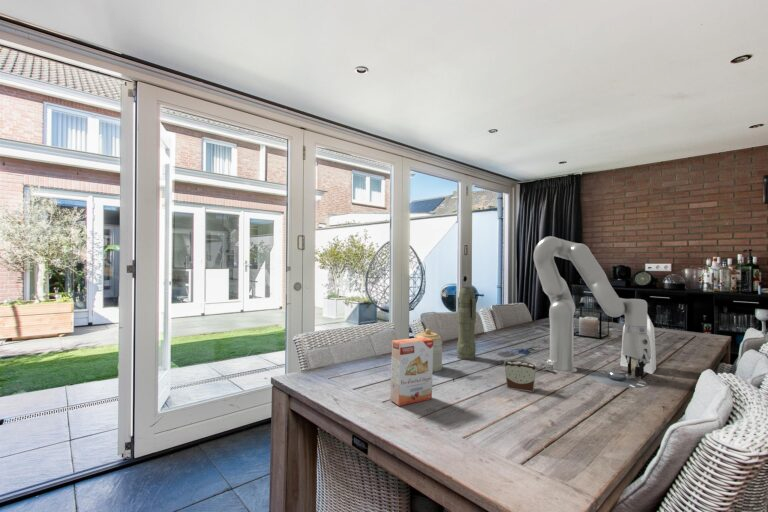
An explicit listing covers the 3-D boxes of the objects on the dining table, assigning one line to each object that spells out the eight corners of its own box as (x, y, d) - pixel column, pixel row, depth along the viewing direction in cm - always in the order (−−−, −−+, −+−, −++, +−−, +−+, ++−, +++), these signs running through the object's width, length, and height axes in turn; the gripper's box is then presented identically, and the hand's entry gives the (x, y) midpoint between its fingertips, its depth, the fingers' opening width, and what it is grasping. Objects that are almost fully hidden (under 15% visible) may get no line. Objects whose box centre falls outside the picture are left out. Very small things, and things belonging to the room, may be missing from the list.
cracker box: (399, 407, 121) (400, 343, 121) (389, 401, 126) (390, 339, 126) (433, 399, 128) (434, 339, 128) (422, 393, 133) (423, 335, 134)
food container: (538, 387, 142) (538, 361, 142) (537, 392, 136) (537, 365, 136) (504, 382, 147) (505, 357, 147) (502, 387, 142) (503, 361, 142)
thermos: (469, 361, 177) (470, 288, 177) (451, 356, 186) (452, 286, 187) (481, 358, 182) (482, 287, 182) (463, 353, 191) (464, 286, 192)
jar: (446, 367, 167) (447, 328, 167) (434, 374, 156) (435, 332, 156) (421, 362, 174) (421, 325, 174) (407, 369, 163) (408, 329, 163)
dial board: (610, 391, 138) (610, 387, 138) (578, 374, 158) (578, 371, 158) (660, 390, 140) (660, 386, 140) (622, 374, 160) (622, 370, 160)
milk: (656, 368, 169) (656, 311, 169) (652, 374, 161) (652, 314, 161) (625, 363, 177) (625, 309, 178) (620, 368, 169) (620, 311, 169)
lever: (614, 380, 146) (614, 359, 146) (604, 375, 152) (604, 355, 152) (645, 380, 147) (645, 359, 147) (634, 375, 153) (634, 355, 153)
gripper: (661, 333, 142) (661, 381, 142) (629, 325, 158) (629, 368, 158) (642, 333, 141) (642, 381, 141) (612, 326, 158) (612, 369, 158)
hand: (635, 374), depth 150 cm, fingers open, 3 cm apart
